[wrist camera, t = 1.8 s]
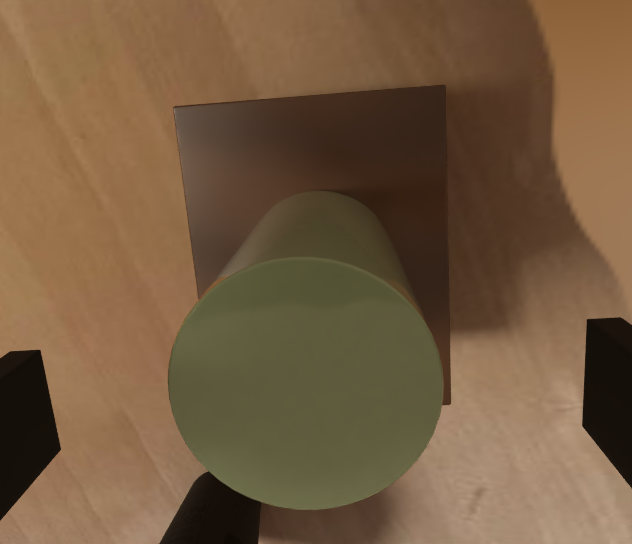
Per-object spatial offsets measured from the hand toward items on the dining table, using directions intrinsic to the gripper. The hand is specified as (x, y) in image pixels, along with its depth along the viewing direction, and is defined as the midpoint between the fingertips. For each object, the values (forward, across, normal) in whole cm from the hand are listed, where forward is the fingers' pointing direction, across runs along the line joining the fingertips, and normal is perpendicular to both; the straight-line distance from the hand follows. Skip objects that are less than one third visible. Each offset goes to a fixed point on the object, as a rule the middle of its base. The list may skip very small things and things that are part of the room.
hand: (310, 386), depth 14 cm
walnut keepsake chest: (+20, 0, 0) cm, 20 cm away
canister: (+11, 0, 0) cm, 11 cm away
